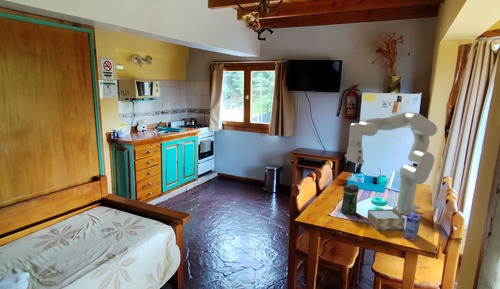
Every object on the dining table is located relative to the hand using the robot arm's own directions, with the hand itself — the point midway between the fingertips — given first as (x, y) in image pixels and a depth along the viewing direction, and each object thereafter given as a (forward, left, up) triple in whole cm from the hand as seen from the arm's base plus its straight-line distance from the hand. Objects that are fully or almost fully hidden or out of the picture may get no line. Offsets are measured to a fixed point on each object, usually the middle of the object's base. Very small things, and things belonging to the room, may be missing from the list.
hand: (353, 170), depth 184 cm
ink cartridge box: (-23, +29, -29) cm, 47 cm away
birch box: (-15, +16, -29) cm, 37 cm away
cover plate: (-15, +16, -23) cm, 32 cm away
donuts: (-19, 0, -29) cm, 35 cm away
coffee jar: (-1, -3, -29) cm, 30 cm away
